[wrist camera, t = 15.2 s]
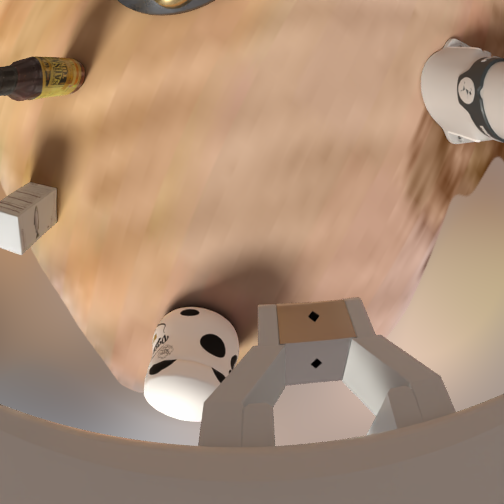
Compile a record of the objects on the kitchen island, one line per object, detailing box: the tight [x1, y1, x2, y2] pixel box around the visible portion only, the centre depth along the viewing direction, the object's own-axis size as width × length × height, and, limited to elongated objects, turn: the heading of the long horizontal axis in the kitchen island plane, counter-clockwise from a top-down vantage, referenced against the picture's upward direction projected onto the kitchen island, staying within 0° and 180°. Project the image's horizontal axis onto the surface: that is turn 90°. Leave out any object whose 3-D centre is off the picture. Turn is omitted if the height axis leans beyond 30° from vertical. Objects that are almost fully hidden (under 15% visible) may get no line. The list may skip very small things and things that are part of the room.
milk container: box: [144, 307, 239, 422], centre depth 55 cm, size 17×17×18 cm
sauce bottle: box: [0, 57, 85, 101], centre depth 28 cm, size 7×6×20 cm
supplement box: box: [0, 182, 57, 255], centre depth 43 cm, size 7×7×13 cm
